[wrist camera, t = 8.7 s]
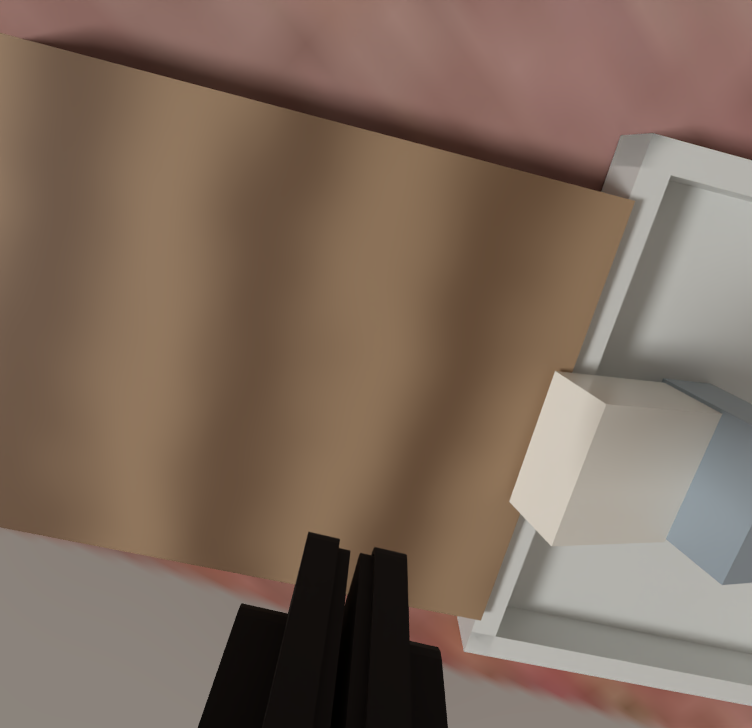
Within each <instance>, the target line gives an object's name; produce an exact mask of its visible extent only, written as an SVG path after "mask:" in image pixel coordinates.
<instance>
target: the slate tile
mask: <svg viewBox="0 0 752 728" xmlns="http://www.w3.org/2000/svg"><path fill="white" fill-rule="evenodd" d="M662 383H666V384H668V385H670V386H672V387H674V388H675V389H677V390H679V391H681V392H683V393H685V394H686V395H688V396H690V397H692V398H694V399H696V400H698V401H699V402H701V403H703V404H705V405H707V406H709V407H711V408H712V409H714V410H716V411H718V412H720V413H722V416H721V418H720V420H719V422H718V425H717V427H716V429H715V431H714V434H713V436H712V438H711V440H710V442H709V445H708V447H707V449H706V451H705V453H704V456H703V458H702V460H701V462H700V464H699V467H698V469H697V471H696V473H695V475H694V478H693V480H692V482H691V484H690V487H689V489H688V491H687V493H686V495H685V498H684V500H683V502H682V504H681V506H680V509H679V511H678V513H677V515H676V517H675V520H674V522H673V524H672V526H671V529H670V531H669V533H668V535H667V537H666V540H667V541H669V542H670V543H671V544H672V545H674V546H675V547H676V548H677V549H678V550H680V551H681V552H682V553H683V554H685V555H686V556H687V557H688V558H689V559H691V560H692V561H693V562H694V563H696V564H697V565H698V566H699V567H700V568H702V569H703V570H704V571H705V572H706V573H708V574H709V575H710V576H711V577H713V578H714V579H715V580H716V581H717V582H719V583H720V584H721V585H730V584H742V583H752V404H751V403H749V402H747V401H745V400H743V399H741V398H739V397H737V396H735V395H733V394H731V393H729V392H727V391H725V390H723V389H721V388H719V387H717V386H715V385H712V384H710V383H701V382H692V381H683V380H674V379H666V378H663V380H662Z"/></svg>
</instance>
